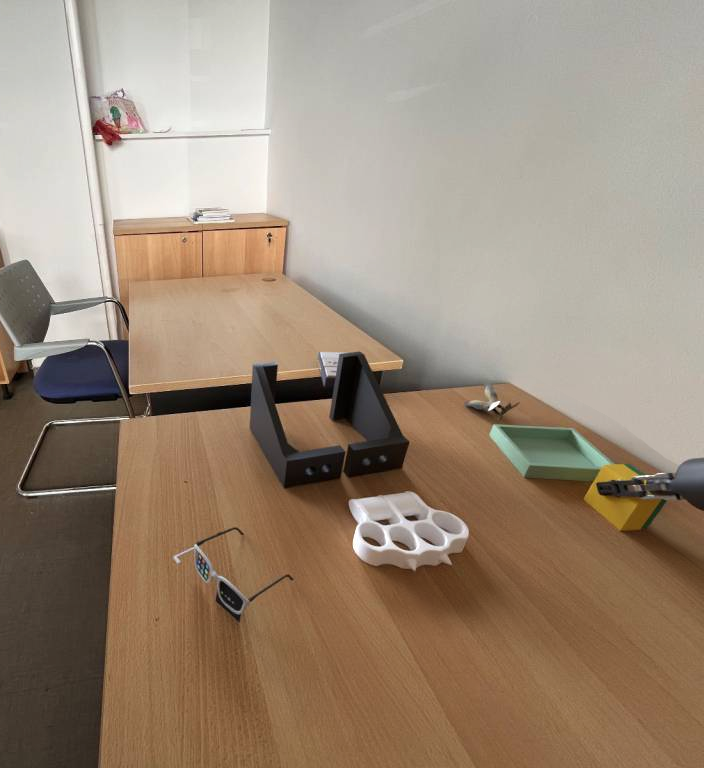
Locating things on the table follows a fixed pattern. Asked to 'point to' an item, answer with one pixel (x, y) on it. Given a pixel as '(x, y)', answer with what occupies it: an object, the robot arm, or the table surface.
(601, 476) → the sponge
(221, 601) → the smart glasses
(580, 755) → the table surface
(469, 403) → the eagle figurine
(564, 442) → the tray
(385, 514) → the white brass knuckles
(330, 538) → the table surface
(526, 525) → the table surface
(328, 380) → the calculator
